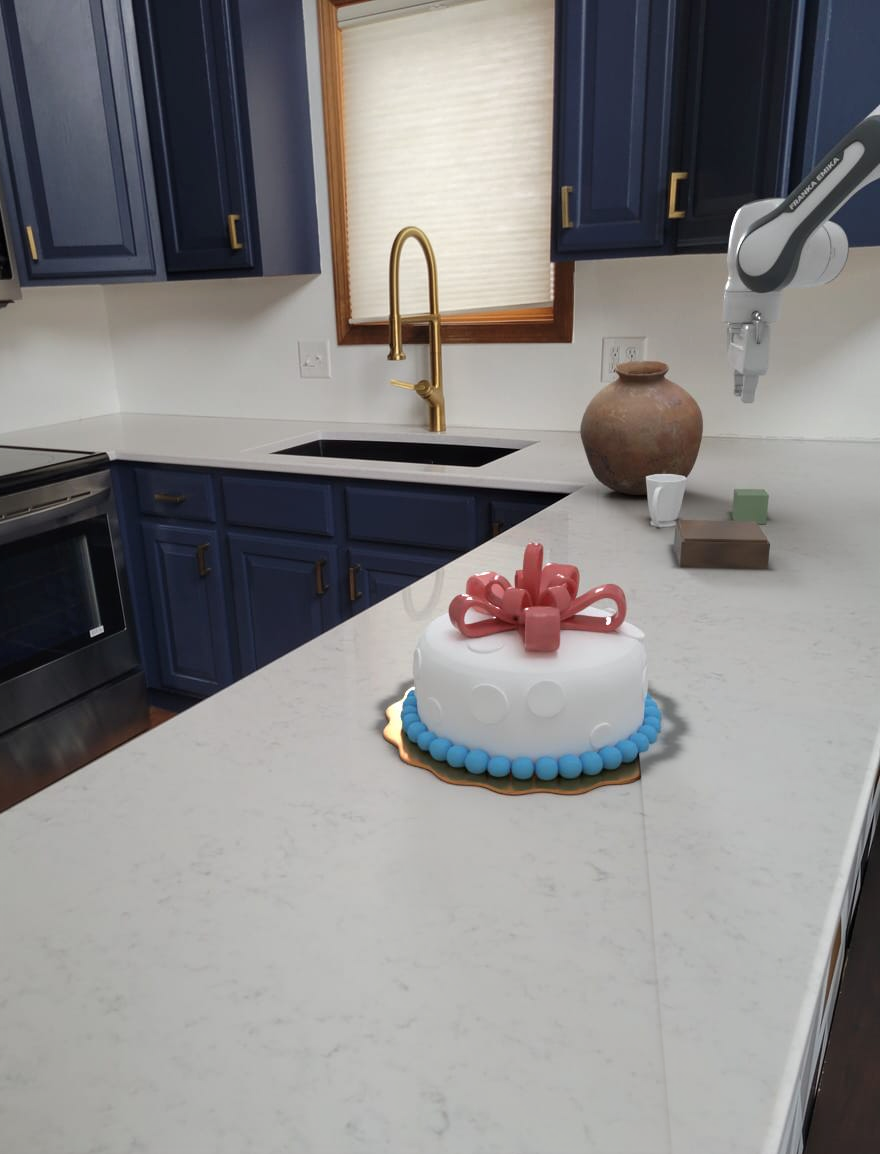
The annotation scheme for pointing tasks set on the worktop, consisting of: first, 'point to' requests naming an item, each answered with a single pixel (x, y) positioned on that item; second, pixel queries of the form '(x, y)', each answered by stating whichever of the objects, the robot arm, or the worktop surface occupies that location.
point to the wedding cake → (528, 687)
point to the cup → (665, 498)
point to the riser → (721, 544)
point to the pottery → (641, 428)
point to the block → (750, 505)
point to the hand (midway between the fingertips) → (743, 399)
